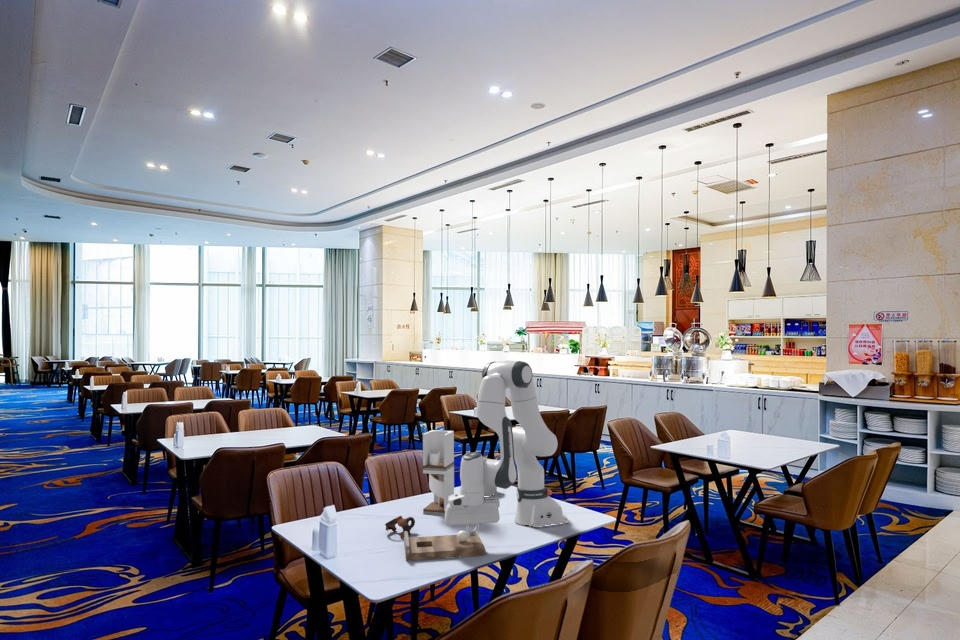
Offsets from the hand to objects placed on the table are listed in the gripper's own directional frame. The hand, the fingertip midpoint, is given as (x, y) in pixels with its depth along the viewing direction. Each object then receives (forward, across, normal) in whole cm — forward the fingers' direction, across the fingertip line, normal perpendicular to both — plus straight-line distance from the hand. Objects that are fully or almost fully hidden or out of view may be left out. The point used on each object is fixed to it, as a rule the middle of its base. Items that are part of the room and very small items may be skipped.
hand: (472, 535), depth 213 cm
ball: (0, +4, 0) cm, 4 cm away
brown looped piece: (+5, +25, -20) cm, 33 cm away
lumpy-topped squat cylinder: (+5, -18, -72) cm, 75 cm away
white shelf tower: (+5, +7, -48) cm, 49 cm away
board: (+5, +11, 0) cm, 12 cm away
